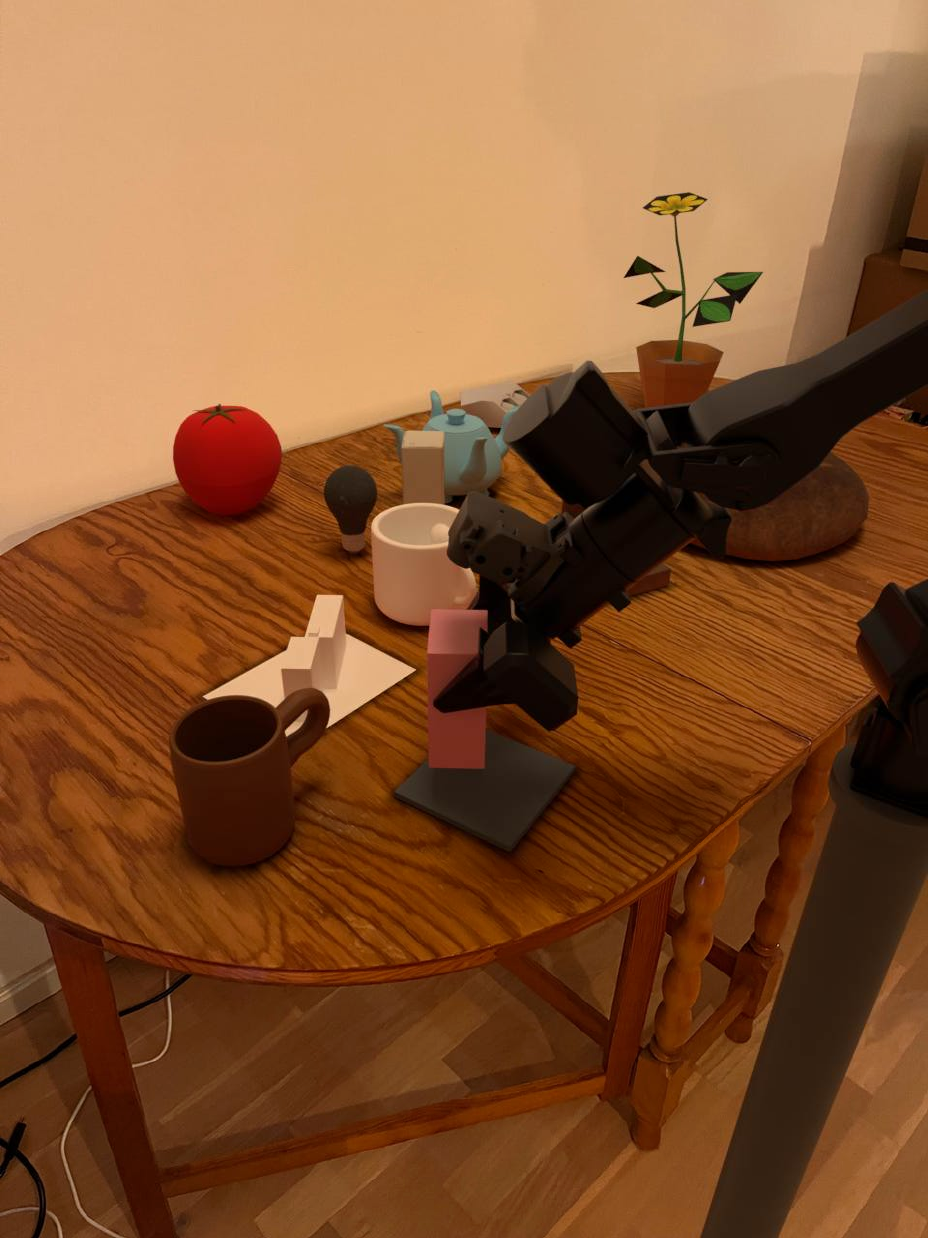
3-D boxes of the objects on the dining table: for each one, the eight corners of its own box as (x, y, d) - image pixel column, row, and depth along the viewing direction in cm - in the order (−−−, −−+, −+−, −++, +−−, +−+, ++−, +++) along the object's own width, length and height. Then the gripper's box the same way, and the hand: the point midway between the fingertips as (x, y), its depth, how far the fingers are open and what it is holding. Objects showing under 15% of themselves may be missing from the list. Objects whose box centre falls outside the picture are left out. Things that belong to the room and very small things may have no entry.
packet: (484, 720, 70) (487, 609, 64) (484, 769, 65) (487, 654, 60) (432, 719, 70) (431, 608, 64) (428, 768, 65) (426, 653, 60)
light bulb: (324, 543, 102) (317, 459, 96) (373, 537, 103) (369, 454, 98) (333, 567, 97) (327, 480, 92) (385, 560, 99) (381, 474, 93)
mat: (575, 771, 71) (575, 765, 70) (509, 853, 64) (510, 847, 63) (466, 726, 75) (466, 720, 75) (394, 797, 68) (393, 791, 68)
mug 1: (303, 752, 72) (293, 654, 67) (366, 800, 68) (359, 699, 63) (167, 830, 65) (144, 727, 60) (227, 890, 60) (207, 784, 55)
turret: (569, 462, 127) (577, 431, 125) (442, 418, 133) (447, 387, 130) (592, 439, 135) (600, 409, 132) (472, 398, 140) (477, 368, 138)
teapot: (522, 479, 117) (526, 403, 112) (481, 521, 107) (483, 439, 102) (431, 462, 122) (431, 387, 116) (384, 500, 111) (381, 420, 106)
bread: (900, 570, 98) (923, 495, 94) (647, 568, 98) (658, 493, 93) (813, 465, 122) (828, 401, 118) (610, 463, 122) (616, 399, 117)
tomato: (178, 532, 104) (160, 426, 97) (184, 490, 113) (168, 390, 107) (288, 524, 106) (278, 419, 99) (285, 483, 115) (275, 385, 109)
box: (443, 560, 99) (443, 448, 92) (403, 559, 99) (400, 447, 92) (445, 537, 103) (445, 429, 96) (406, 537, 103) (404, 428, 96)
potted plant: (591, 402, 142) (610, 191, 126) (705, 396, 145) (737, 189, 129) (629, 445, 128) (656, 212, 111) (754, 437, 131) (798, 209, 114)
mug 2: (513, 613, 90) (517, 531, 85) (436, 654, 84) (436, 568, 79) (431, 569, 97) (430, 491, 92) (354, 604, 91) (349, 522, 86)
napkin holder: (329, 624, 88) (324, 573, 85) (417, 669, 82) (416, 615, 79) (201, 697, 78) (191, 641, 75) (290, 753, 72) (283, 695, 69)
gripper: (520, 409, 63) (369, 547, 69) (531, 532, 48) (334, 697, 54) (622, 513, 67) (471, 635, 74) (664, 659, 52) (467, 798, 58)
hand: (439, 682), depth 65 cm, fingers closed on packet, 5 cm apart
